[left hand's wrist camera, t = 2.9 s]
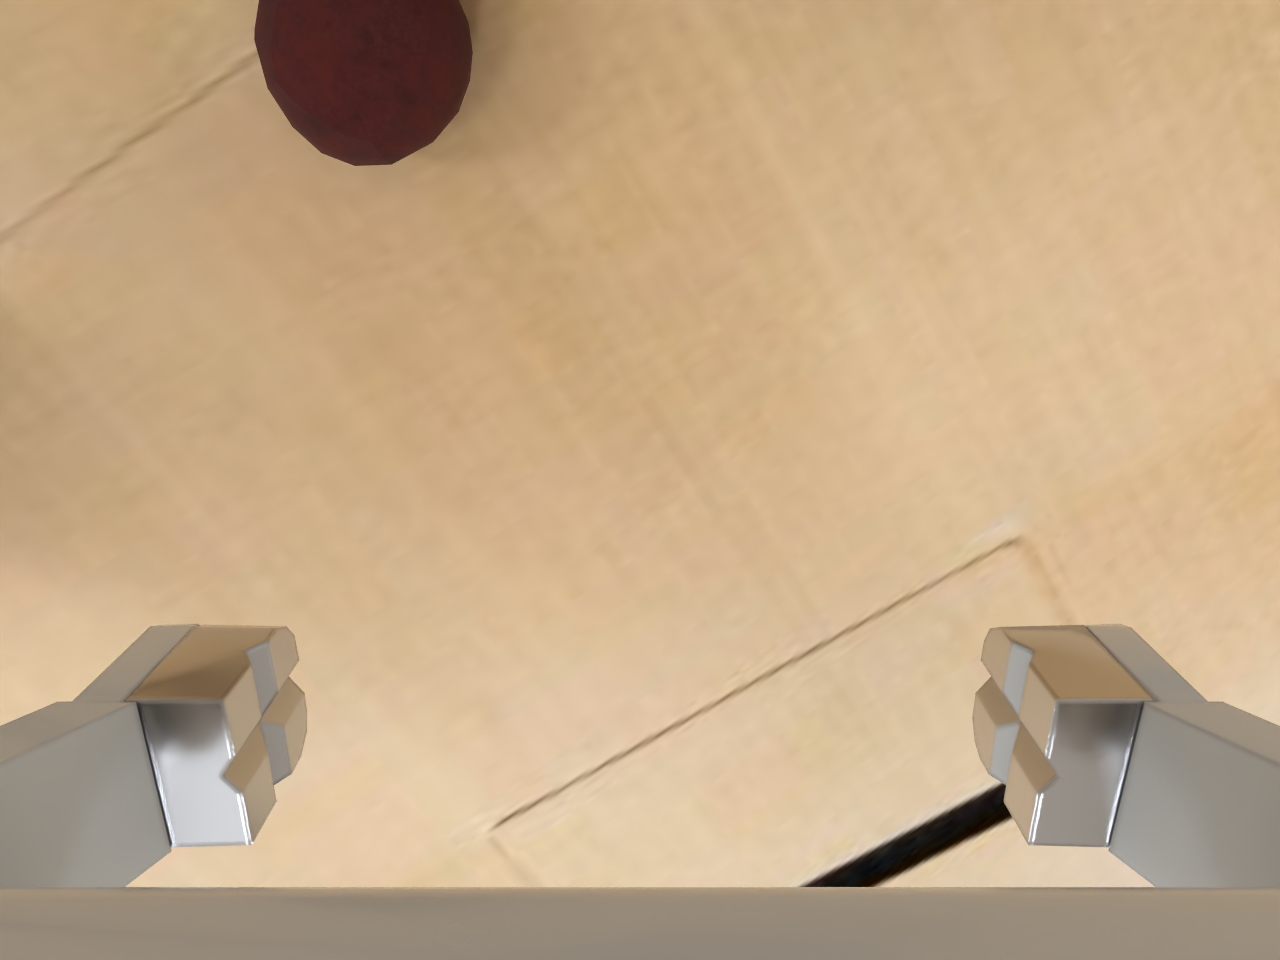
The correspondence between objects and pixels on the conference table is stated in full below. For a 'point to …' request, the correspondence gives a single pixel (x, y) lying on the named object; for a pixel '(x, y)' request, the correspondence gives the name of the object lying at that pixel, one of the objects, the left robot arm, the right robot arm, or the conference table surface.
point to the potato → (365, 72)
